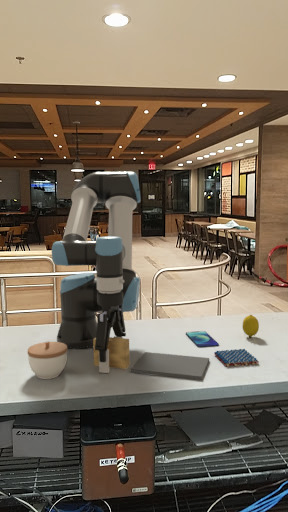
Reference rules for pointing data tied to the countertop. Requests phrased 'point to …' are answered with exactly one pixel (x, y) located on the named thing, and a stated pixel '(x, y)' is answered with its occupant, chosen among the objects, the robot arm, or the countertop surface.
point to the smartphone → (201, 339)
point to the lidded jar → (47, 359)
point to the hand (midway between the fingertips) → (111, 364)
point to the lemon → (250, 325)
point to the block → (115, 353)
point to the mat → (171, 365)
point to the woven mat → (235, 357)
